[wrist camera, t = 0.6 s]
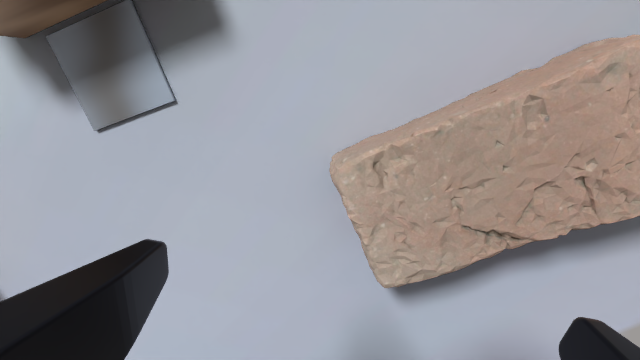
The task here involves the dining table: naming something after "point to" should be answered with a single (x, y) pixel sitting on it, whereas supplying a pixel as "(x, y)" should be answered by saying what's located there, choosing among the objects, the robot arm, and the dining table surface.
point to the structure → (96, 55)
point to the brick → (500, 166)
